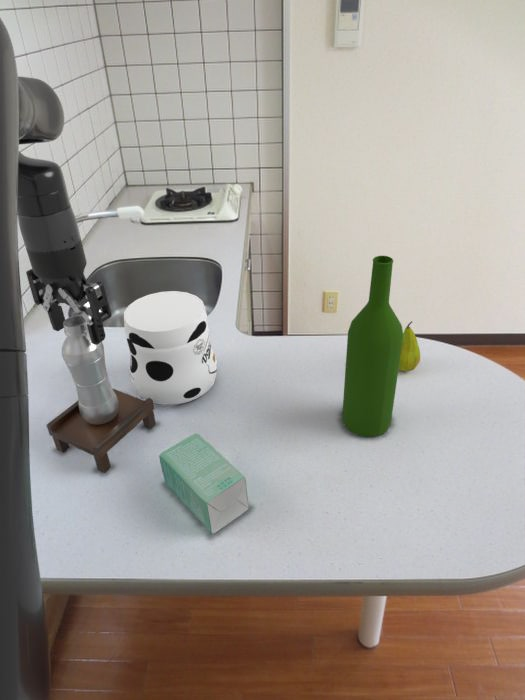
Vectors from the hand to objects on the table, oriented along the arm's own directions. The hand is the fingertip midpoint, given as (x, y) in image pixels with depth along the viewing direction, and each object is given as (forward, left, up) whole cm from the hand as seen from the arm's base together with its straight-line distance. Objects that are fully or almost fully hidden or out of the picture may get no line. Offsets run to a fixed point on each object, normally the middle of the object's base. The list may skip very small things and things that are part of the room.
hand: (79, 335), depth 83 cm
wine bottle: (+26, -40, -22) cm, 53 cm away
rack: (0, 0, -22) cm, 22 cm away
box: (-3, -24, -22) cm, 33 cm away
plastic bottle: (0, 0, -18) cm, 18 cm away
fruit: (+45, -41, -22) cm, 65 cm away
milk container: (+18, -2, -22) cm, 29 cm away
